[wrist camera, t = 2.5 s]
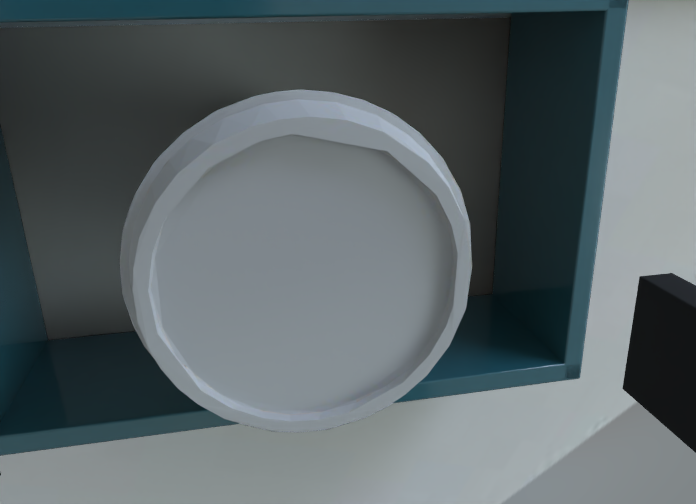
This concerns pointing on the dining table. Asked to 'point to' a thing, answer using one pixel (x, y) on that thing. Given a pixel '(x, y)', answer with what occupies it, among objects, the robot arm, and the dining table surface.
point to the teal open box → (481, 311)
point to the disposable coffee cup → (297, 260)
